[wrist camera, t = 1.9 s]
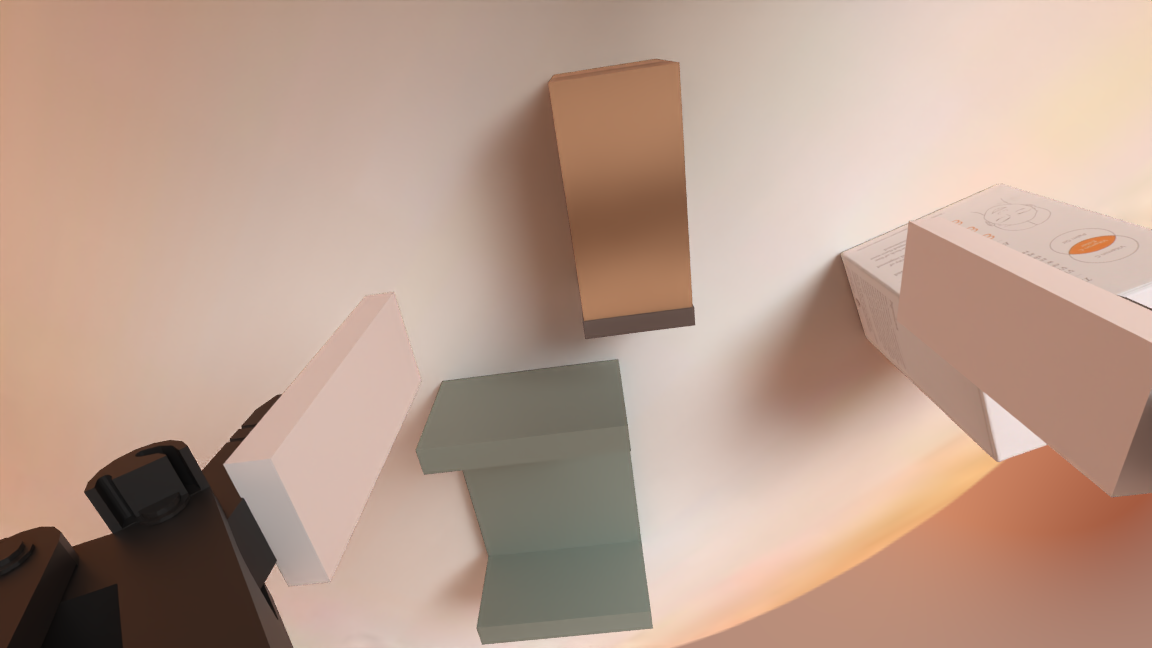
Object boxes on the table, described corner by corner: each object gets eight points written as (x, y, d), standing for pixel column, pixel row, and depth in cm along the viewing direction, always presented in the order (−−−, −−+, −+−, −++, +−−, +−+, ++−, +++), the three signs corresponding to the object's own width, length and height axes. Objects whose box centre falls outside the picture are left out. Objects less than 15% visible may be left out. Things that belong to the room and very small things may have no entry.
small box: (862, 337, 30) (992, 468, 21) (836, 250, 28) (968, 353, 19) (1017, 276, 29) (1231, 388, 19) (1002, 178, 27) (1237, 251, 17)
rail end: (552, 75, 24) (546, 83, 19) (657, 58, 24) (681, 62, 19) (583, 283, 29) (585, 338, 23) (672, 271, 29) (694, 325, 23)
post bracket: (442, 381, 32) (415, 450, 26) (618, 359, 31) (627, 425, 26) (495, 559, 38) (482, 644, 33) (641, 544, 37) (652, 628, 32)
